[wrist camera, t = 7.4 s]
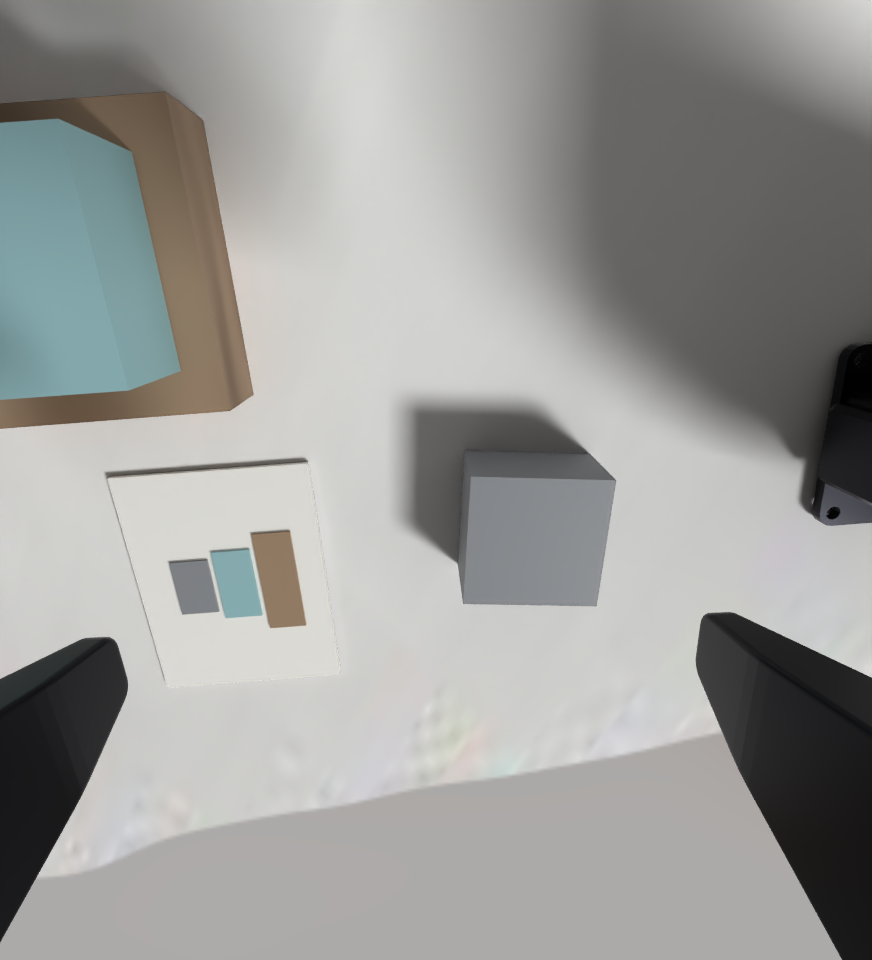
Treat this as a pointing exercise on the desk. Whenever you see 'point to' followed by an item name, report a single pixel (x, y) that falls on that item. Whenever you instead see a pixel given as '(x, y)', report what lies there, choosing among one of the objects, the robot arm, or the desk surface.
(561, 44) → the desk surface
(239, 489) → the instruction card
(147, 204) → the base block
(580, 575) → the grey block
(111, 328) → the teal block
